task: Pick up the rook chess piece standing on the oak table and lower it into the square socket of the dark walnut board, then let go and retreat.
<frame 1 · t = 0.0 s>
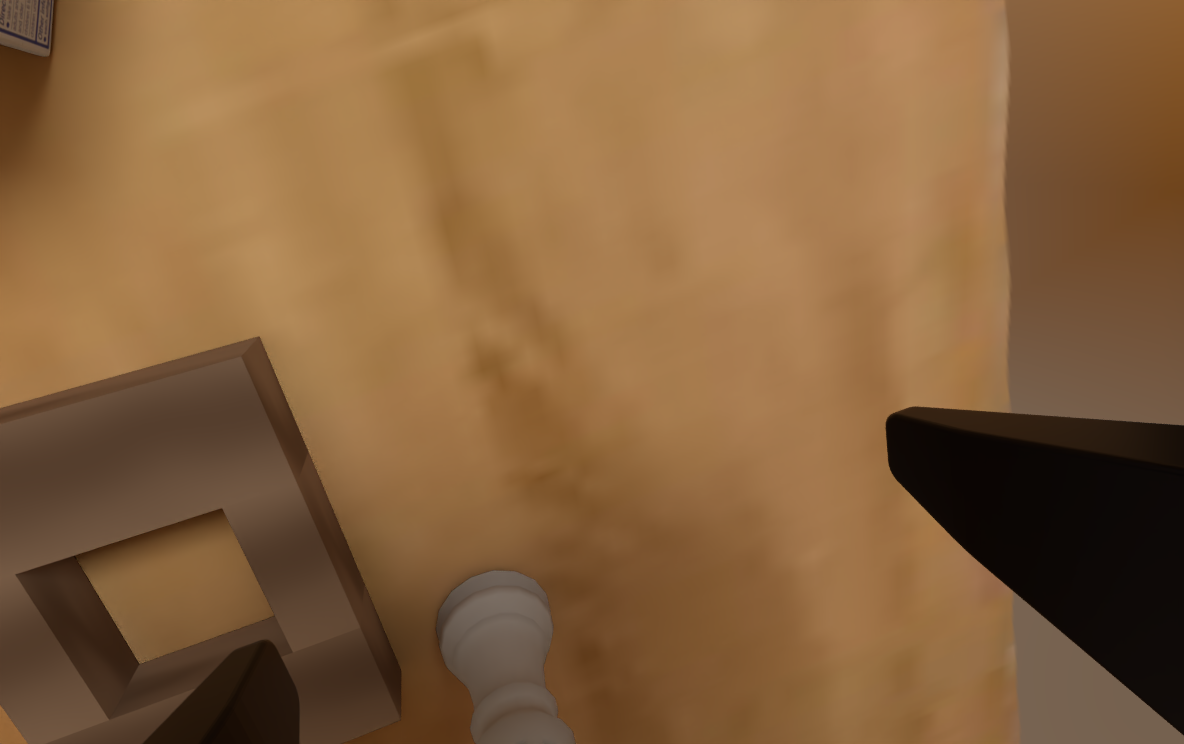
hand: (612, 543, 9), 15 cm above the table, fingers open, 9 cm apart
socket board: (189, 570, 22), on the table
rook chess piece: (492, 609, 26), on the table
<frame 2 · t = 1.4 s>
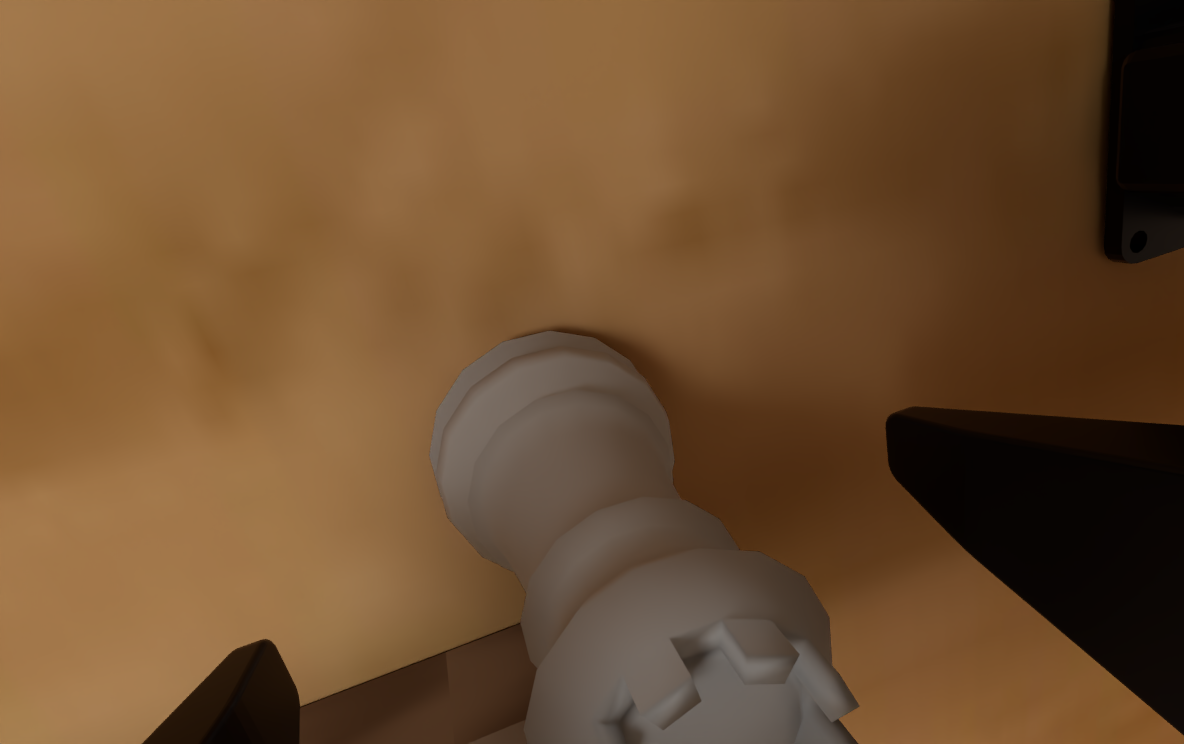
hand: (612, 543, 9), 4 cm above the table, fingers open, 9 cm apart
rook chess piece: (542, 431, 13), on the table
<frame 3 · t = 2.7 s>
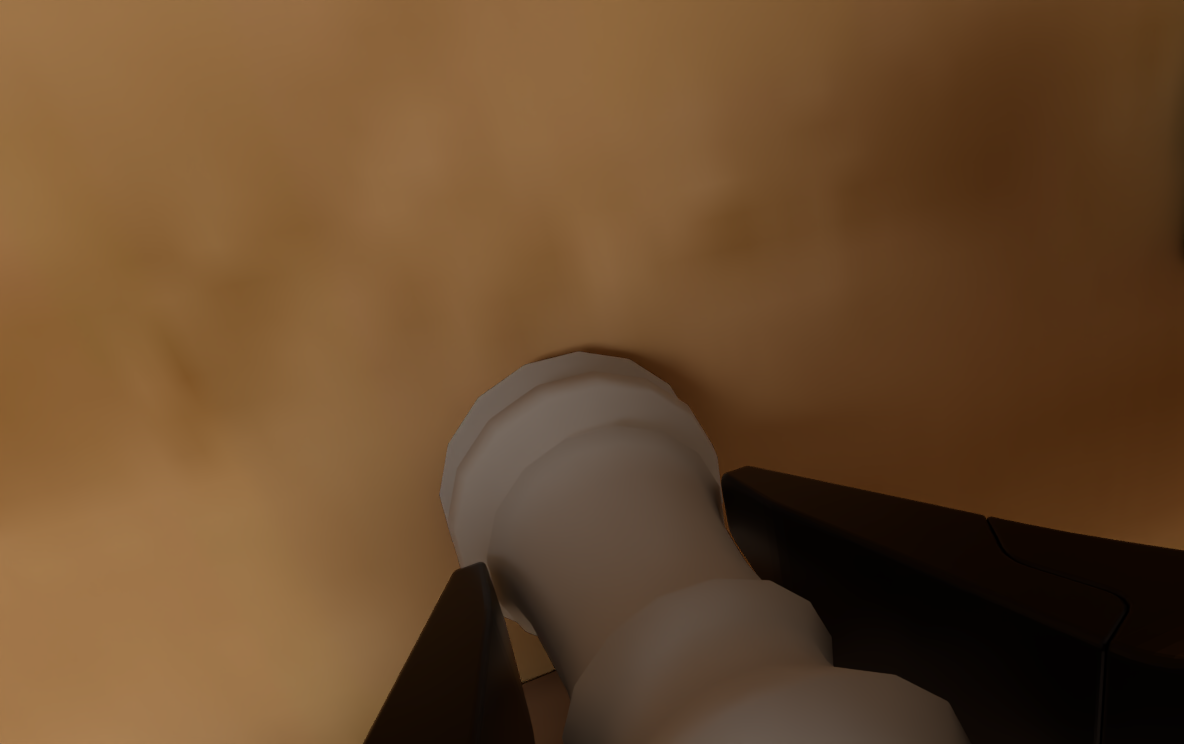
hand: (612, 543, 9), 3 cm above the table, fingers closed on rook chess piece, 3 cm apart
rook chess piece: (566, 464, 12), on the table, touching gripper
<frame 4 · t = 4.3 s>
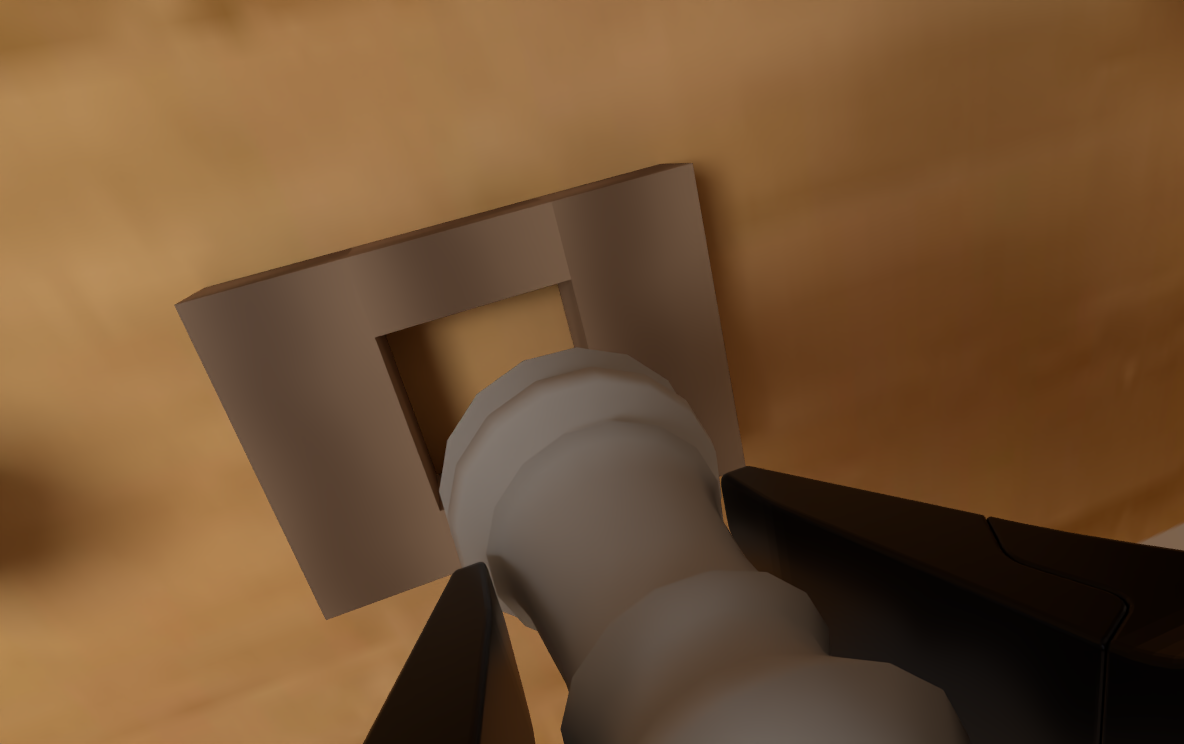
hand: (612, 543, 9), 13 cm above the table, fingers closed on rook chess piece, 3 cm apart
socket board: (493, 373, 21), on the table
rook chess piece: (566, 460, 12), point 10 cm above the table, touching gripper
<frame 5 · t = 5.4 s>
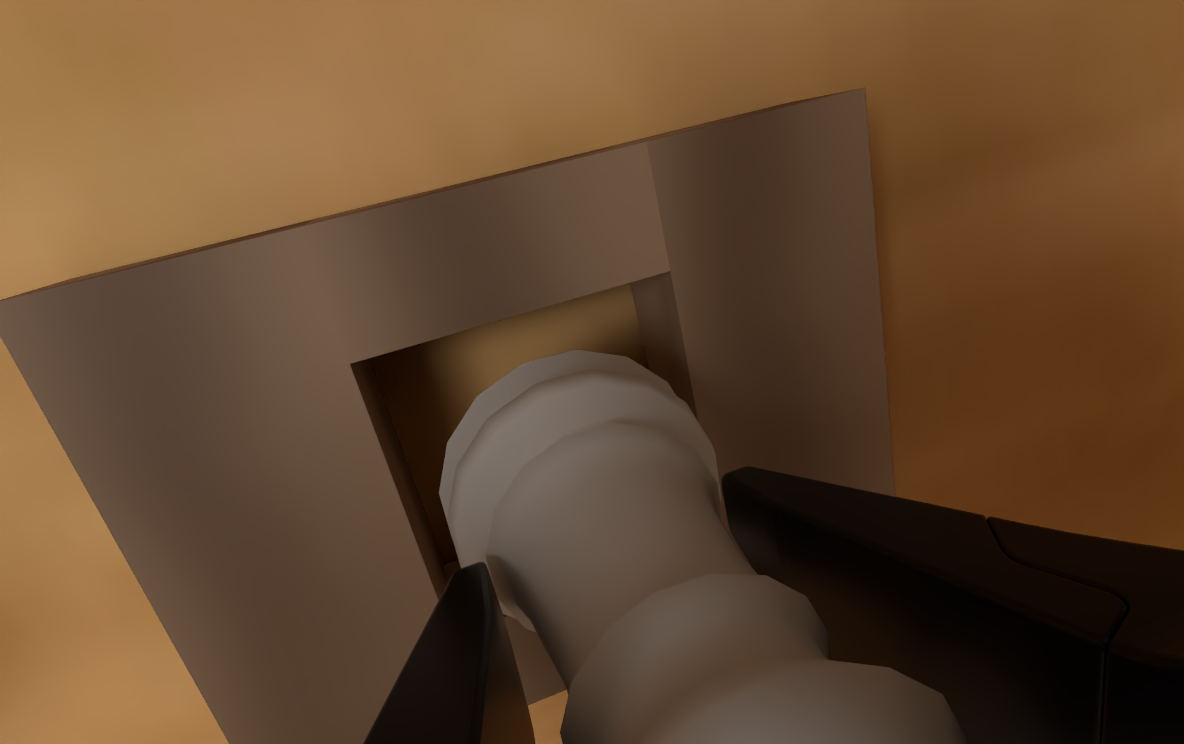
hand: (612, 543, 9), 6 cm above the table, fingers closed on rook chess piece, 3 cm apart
socket board: (531, 414, 14), on the table
rook chess piece: (565, 461, 12), point 3 cm above the table, touching gripper
when the fingers open (3 cm above the table, at t = 6.1 s): rook chess piece stays where it is, resting in socket board.
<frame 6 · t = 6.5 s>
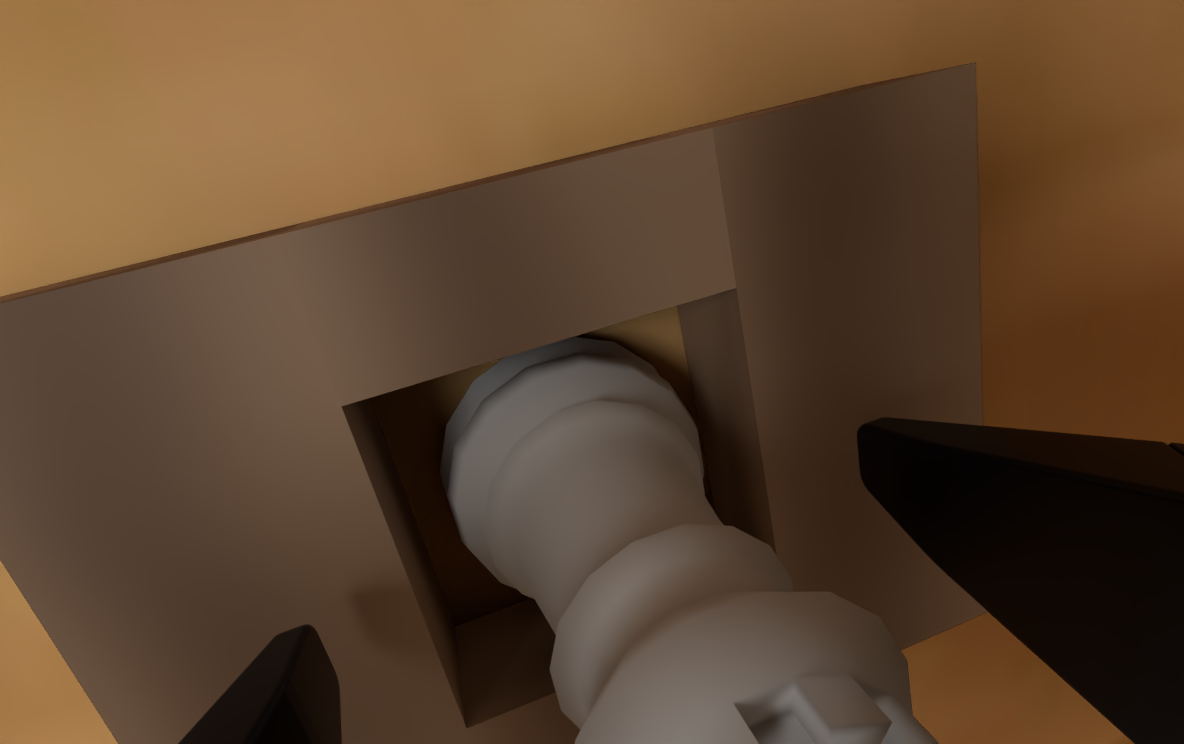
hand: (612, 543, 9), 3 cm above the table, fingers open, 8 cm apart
socket board: (558, 452, 12), on the table
rook chess piece: (559, 443, 12), resting in socket board
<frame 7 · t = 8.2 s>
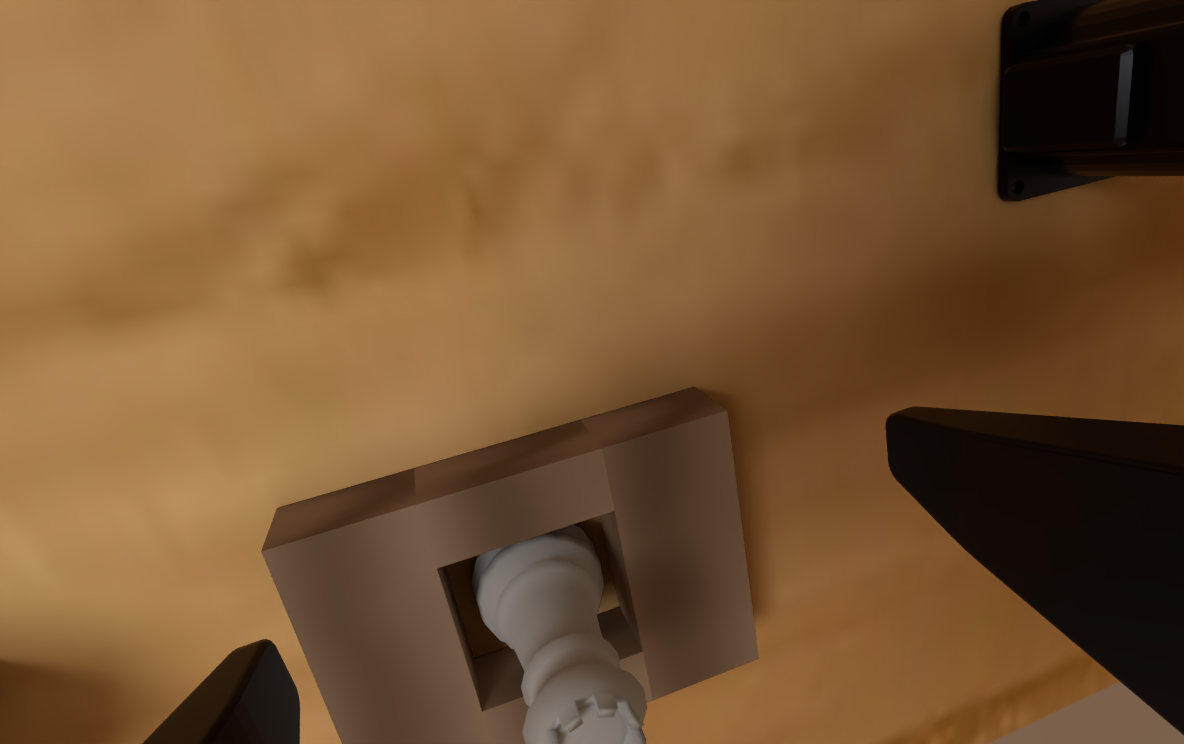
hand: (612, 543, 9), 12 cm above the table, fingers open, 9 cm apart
socket board: (532, 569, 23), on the table
rook chess piece: (532, 563, 23), resting in socket board
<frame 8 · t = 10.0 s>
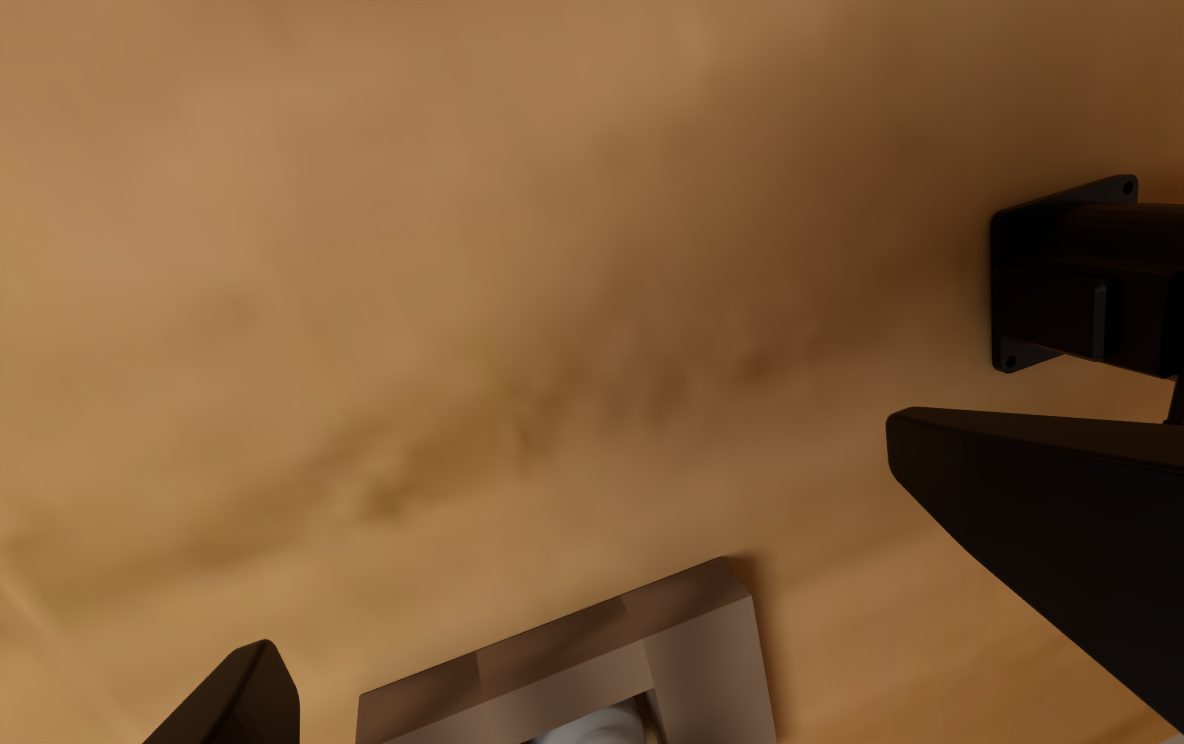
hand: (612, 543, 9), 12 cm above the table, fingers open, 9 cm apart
socket board: (580, 721, 26), on the table
rook chess piece: (580, 715, 26), resting in socket board
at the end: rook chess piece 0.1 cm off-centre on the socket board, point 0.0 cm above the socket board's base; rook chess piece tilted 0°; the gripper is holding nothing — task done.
